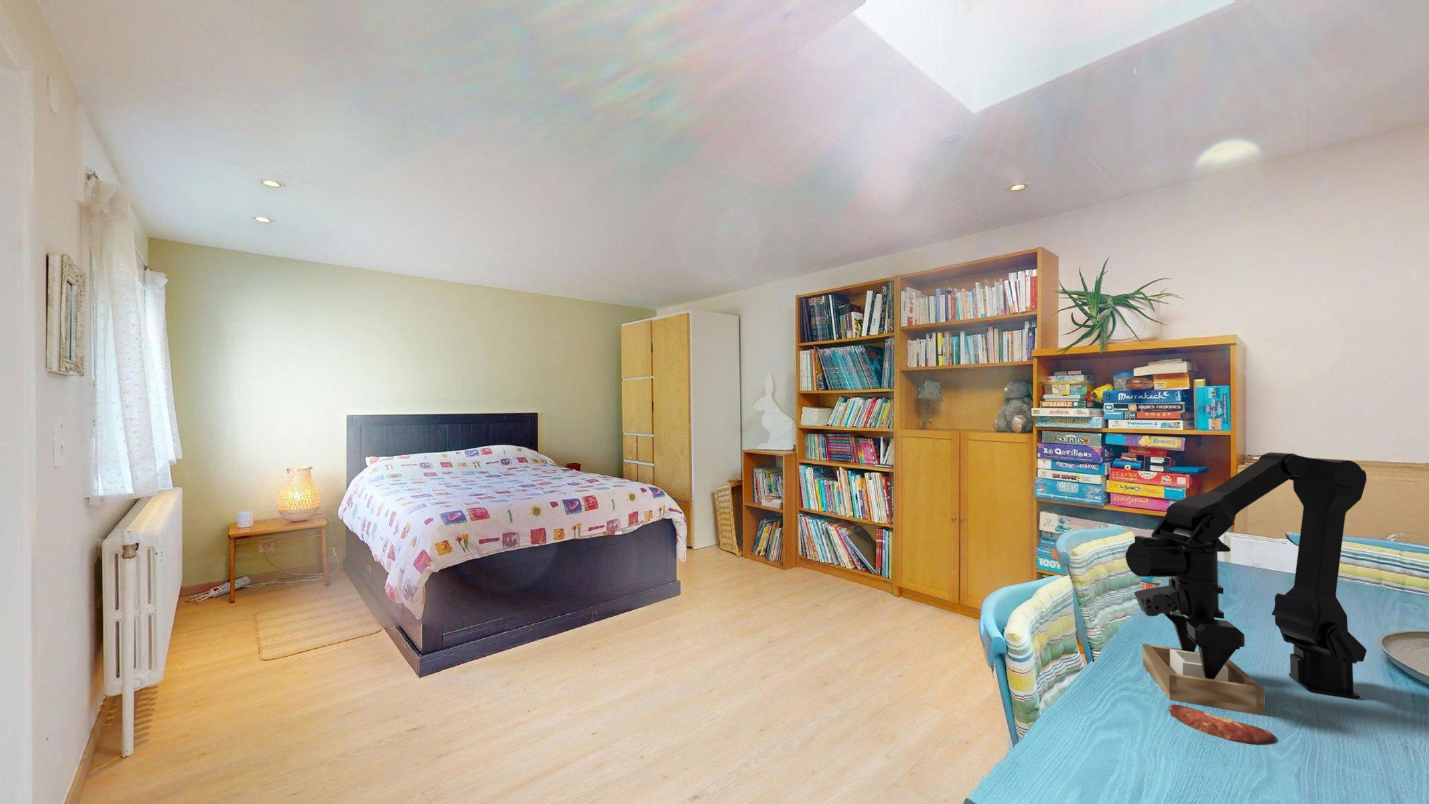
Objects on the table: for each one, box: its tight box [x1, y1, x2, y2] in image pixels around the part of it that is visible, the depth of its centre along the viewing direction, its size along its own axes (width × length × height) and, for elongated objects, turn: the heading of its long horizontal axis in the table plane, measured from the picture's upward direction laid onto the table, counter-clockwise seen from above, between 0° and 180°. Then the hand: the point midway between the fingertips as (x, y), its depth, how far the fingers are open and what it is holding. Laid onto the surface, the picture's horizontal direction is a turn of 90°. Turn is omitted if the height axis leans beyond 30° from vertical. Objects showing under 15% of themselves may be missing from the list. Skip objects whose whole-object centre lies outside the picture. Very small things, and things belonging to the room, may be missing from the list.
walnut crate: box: [1142, 643, 1266, 716], centre depth 95 cm, size 12×14×4 cm
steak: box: [1168, 704, 1276, 746], centre depth 83 cm, size 8×2×12 cm
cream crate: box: [1170, 649, 1228, 682], centre depth 95 cm, size 6×6×4 cm
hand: (1198, 667), depth 95 cm, fingers open, 9 cm apart
